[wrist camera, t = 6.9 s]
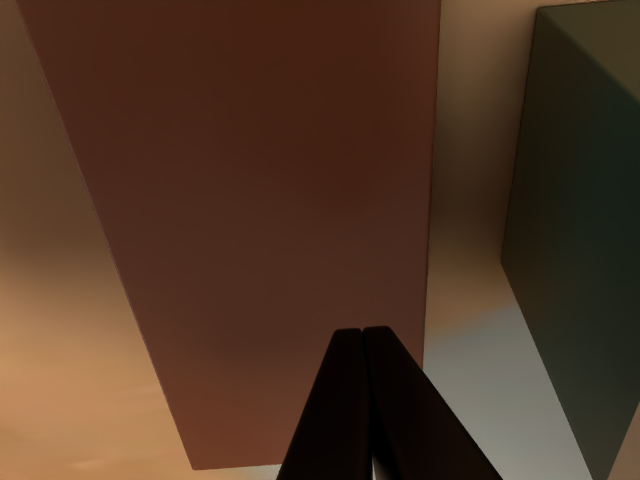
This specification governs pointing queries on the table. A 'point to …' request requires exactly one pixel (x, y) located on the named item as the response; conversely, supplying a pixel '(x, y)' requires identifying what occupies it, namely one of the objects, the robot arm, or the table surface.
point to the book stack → (251, 188)
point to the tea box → (583, 223)
